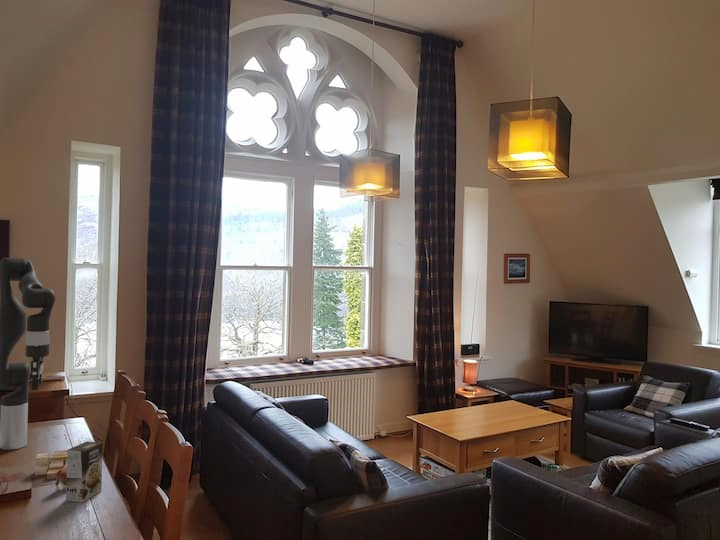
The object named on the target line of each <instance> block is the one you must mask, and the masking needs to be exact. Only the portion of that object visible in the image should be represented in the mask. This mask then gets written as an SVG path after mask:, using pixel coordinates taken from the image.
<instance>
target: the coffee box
mask: <svg viewBox="0 0 720 540" xmlns="http://www.w3.org/2000/svg"><path fill="white" fill-rule="evenodd" d="M67 450H68V457H67V481H66V487H65V490H66V491H65V501H68V502H76V503H84V502H87V501H88V500H89V499H91V498H93V497H95V496H96V495H98V494H99V493H101V492H102V483H103V482H102V480H103V454H104V451H103V450H104V442H102V441H101V442H100V441H99V442H98V441H84V442H82V443H80V444H77V445H75V446H72V447H70V448H68V449H67Z"/></svg>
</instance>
